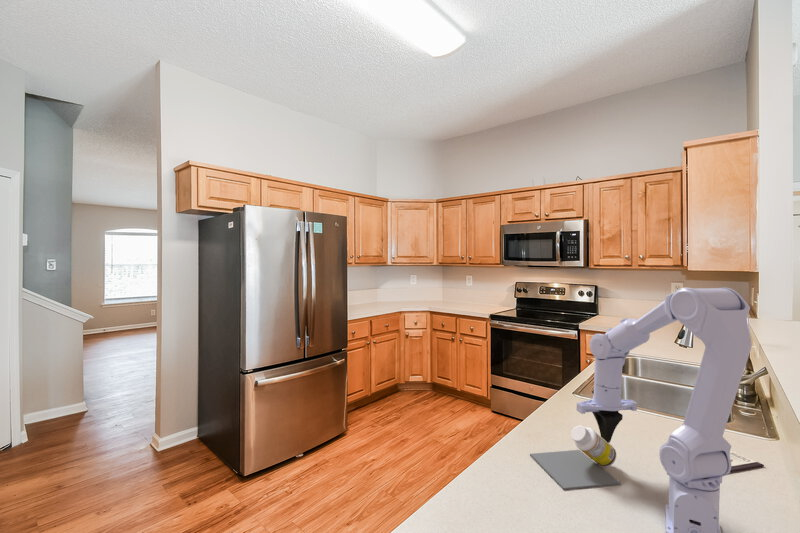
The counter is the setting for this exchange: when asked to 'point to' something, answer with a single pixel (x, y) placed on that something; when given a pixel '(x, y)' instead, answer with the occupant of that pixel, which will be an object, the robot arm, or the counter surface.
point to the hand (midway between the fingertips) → (605, 440)
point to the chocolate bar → (742, 462)
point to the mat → (573, 470)
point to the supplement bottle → (594, 445)
